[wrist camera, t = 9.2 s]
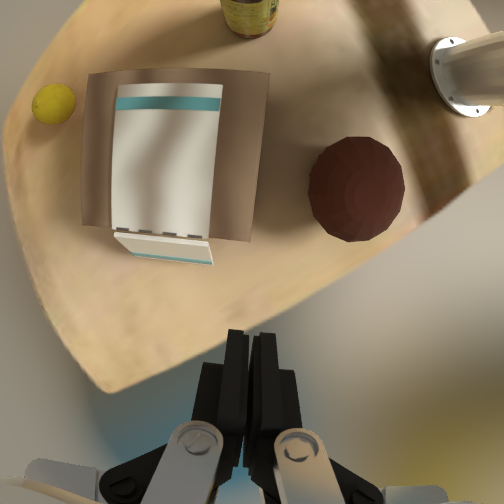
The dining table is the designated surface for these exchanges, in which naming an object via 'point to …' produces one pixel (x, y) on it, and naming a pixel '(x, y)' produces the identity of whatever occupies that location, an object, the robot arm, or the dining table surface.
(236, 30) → the sauce bottle
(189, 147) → the brown box with strip
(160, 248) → the stub
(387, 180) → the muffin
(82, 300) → the dining table surface
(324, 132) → the dining table surface
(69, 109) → the lemon
